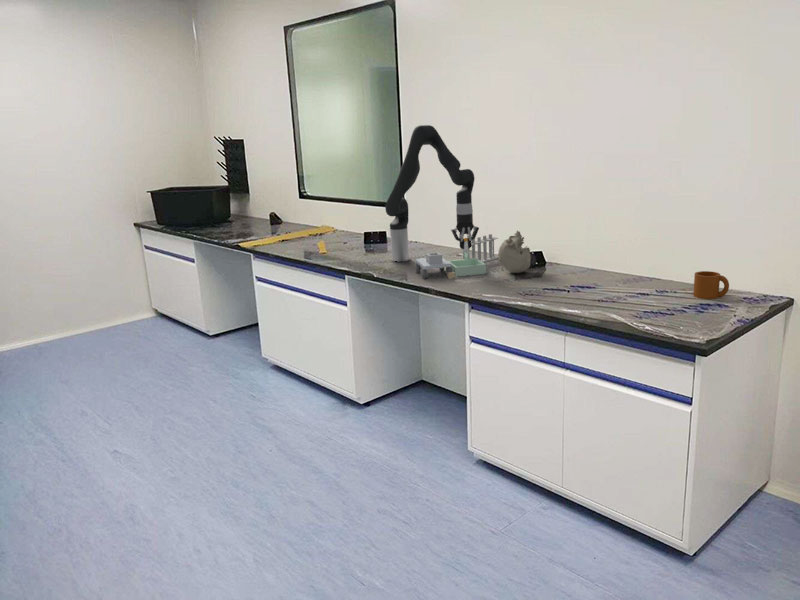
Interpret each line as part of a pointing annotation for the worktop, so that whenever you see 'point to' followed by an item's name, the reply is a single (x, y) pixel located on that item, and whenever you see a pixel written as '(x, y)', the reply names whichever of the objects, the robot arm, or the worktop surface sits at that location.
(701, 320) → the worktop surface
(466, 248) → the stop pin
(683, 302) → the worktop surface
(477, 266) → the tray
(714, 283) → the mug
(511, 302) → the worktop surface
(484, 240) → the test tube rack
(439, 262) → the grey stepped platform
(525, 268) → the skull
